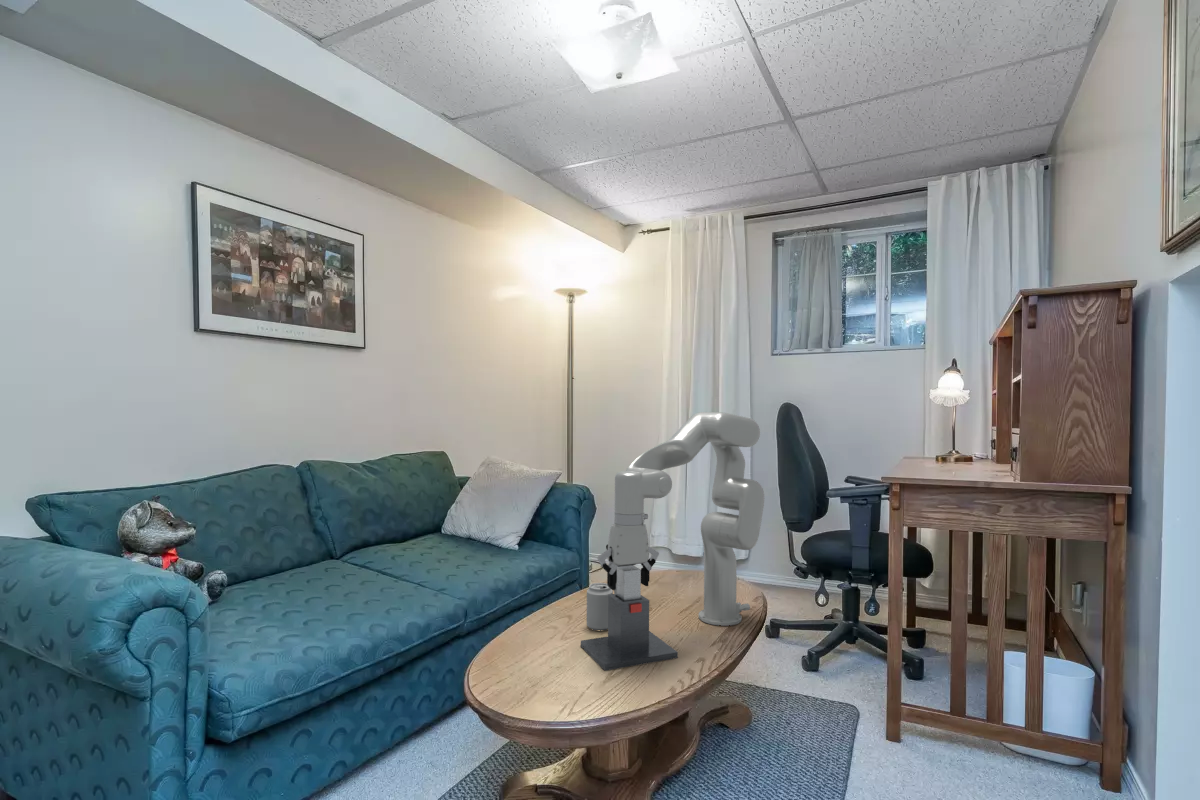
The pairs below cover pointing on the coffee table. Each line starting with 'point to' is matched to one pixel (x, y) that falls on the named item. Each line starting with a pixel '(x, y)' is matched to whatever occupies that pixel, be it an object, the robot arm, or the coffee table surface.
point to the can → (598, 606)
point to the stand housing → (627, 637)
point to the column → (628, 583)
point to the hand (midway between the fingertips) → (628, 586)
